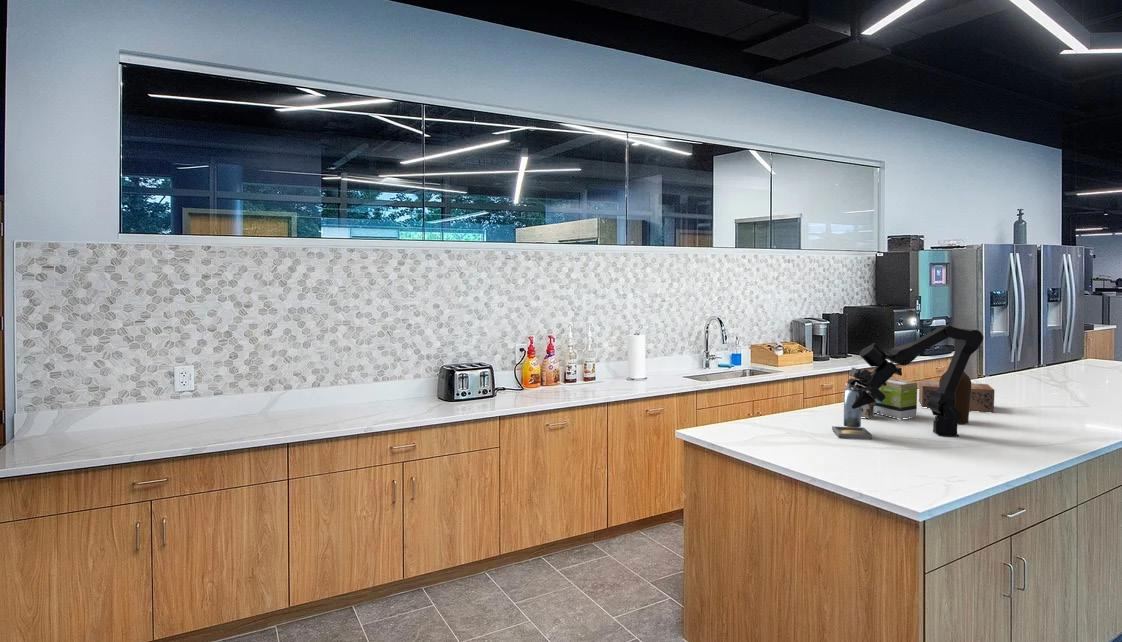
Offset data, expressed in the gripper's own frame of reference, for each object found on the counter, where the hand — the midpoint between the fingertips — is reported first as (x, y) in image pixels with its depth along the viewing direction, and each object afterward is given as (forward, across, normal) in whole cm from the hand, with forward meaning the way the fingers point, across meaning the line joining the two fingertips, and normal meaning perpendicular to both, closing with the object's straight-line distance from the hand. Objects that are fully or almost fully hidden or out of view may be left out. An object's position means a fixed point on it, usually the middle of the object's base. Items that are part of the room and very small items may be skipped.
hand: (848, 406), depth 222 cm
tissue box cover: (-38, -47, +54) cm, 81 cm away
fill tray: (+7, 0, +8) cm, 11 cm away
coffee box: (-5, -29, +21) cm, 36 cm away
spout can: (+4, 0, +6) cm, 7 cm away
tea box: (-14, -31, +30) cm, 45 cm away
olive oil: (-27, -20, +43) cm, 54 cm away
